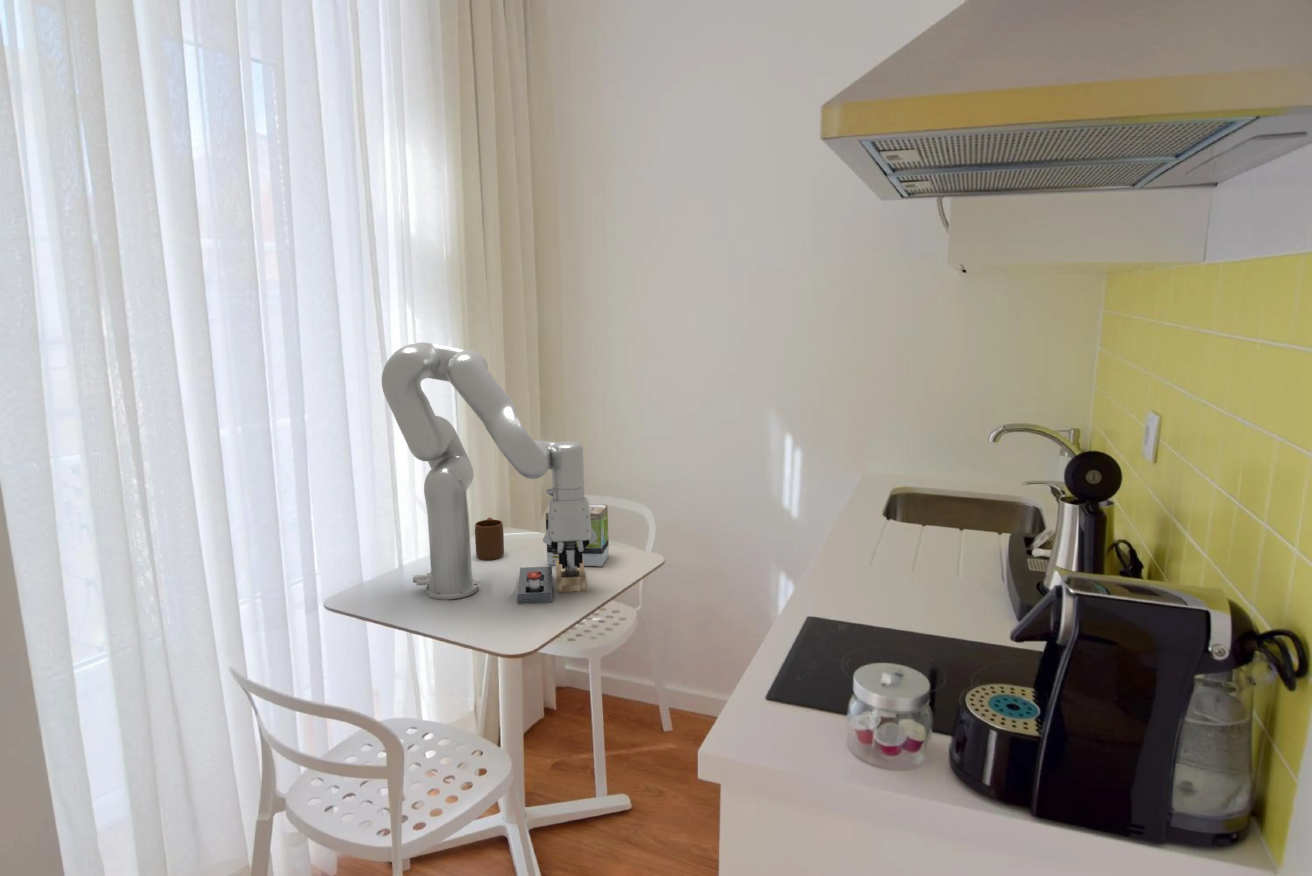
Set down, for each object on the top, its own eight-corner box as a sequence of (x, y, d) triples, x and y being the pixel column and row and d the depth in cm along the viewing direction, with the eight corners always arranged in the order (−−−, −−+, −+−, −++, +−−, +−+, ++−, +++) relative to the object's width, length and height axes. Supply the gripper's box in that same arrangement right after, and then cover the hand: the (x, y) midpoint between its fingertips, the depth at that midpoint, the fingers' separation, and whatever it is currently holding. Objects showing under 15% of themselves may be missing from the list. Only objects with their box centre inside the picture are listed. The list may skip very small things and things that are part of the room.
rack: (556, 592, 189) (555, 549, 187) (556, 572, 203) (555, 531, 201) (585, 591, 190) (584, 547, 188) (583, 571, 203) (582, 530, 202)
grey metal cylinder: (565, 586, 190) (563, 542, 188) (565, 581, 193) (563, 538, 191) (578, 585, 191) (576, 542, 189) (577, 580, 194) (576, 538, 192)
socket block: (517, 604, 182) (517, 594, 182) (520, 577, 200) (520, 567, 199) (552, 602, 183) (551, 592, 183) (552, 575, 201) (552, 566, 200)
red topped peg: (527, 597, 183) (526, 576, 182) (527, 592, 186) (527, 571, 185) (542, 597, 183) (541, 575, 182) (542, 591, 187) (541, 570, 186)
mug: (477, 547, 223) (476, 515, 221) (504, 546, 224) (503, 514, 223) (475, 561, 211) (473, 527, 210) (504, 559, 213) (502, 526, 211)
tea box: (609, 555, 216) (608, 503, 213) (601, 568, 206) (600, 513, 204) (556, 553, 218) (554, 501, 215) (546, 565, 208) (544, 511, 206)
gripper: (533, 498, 183) (536, 573, 187) (603, 495, 185) (605, 570, 189) (534, 490, 191) (537, 563, 194) (601, 488, 193) (603, 559, 196)
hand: (570, 565), depth 191 cm, fingers closed on grey metal cylinder, 3 cm apart
